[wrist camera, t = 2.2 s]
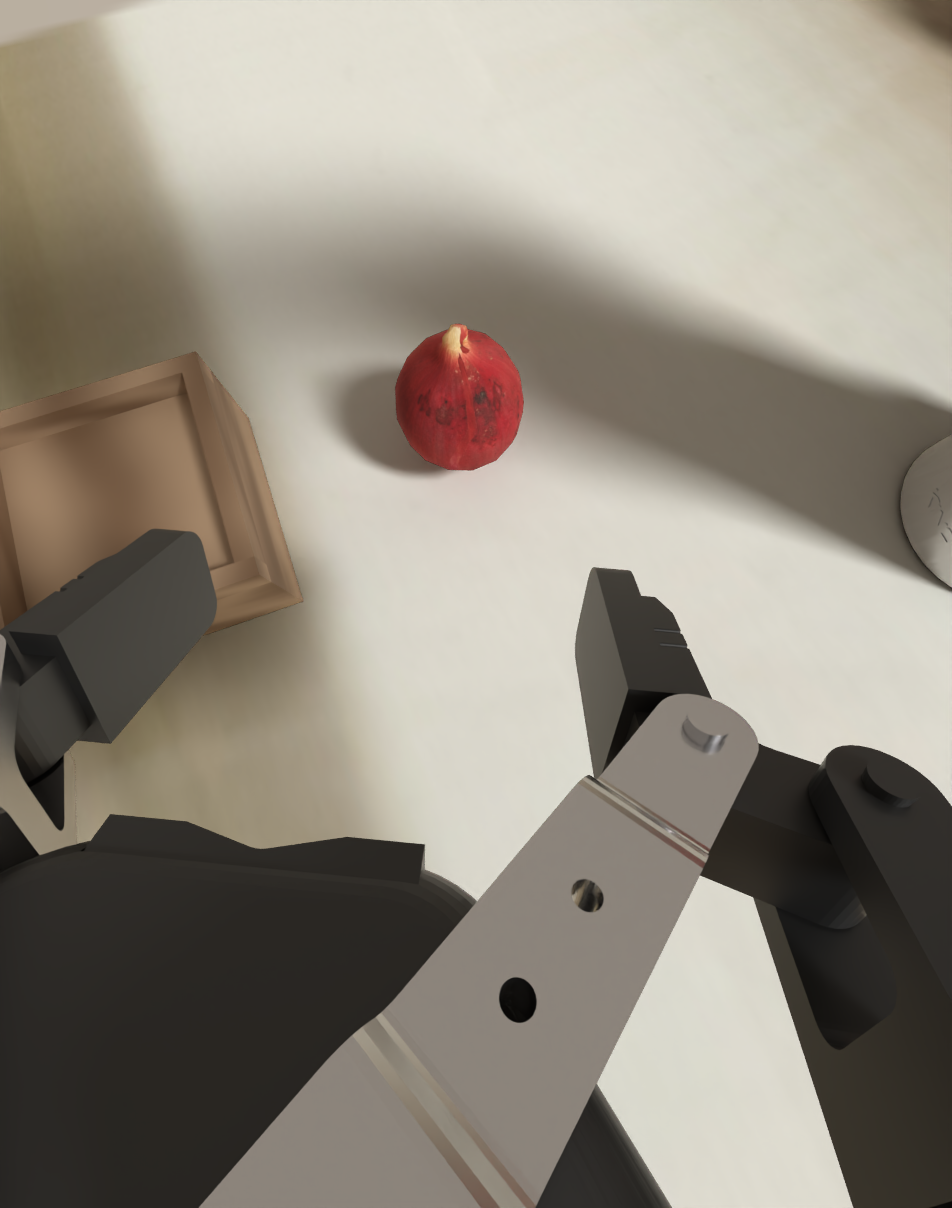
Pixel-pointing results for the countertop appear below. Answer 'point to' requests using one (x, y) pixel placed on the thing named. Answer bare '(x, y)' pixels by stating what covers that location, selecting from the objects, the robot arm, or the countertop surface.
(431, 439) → the onion
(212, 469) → the wooden tray
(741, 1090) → the countertop surface
